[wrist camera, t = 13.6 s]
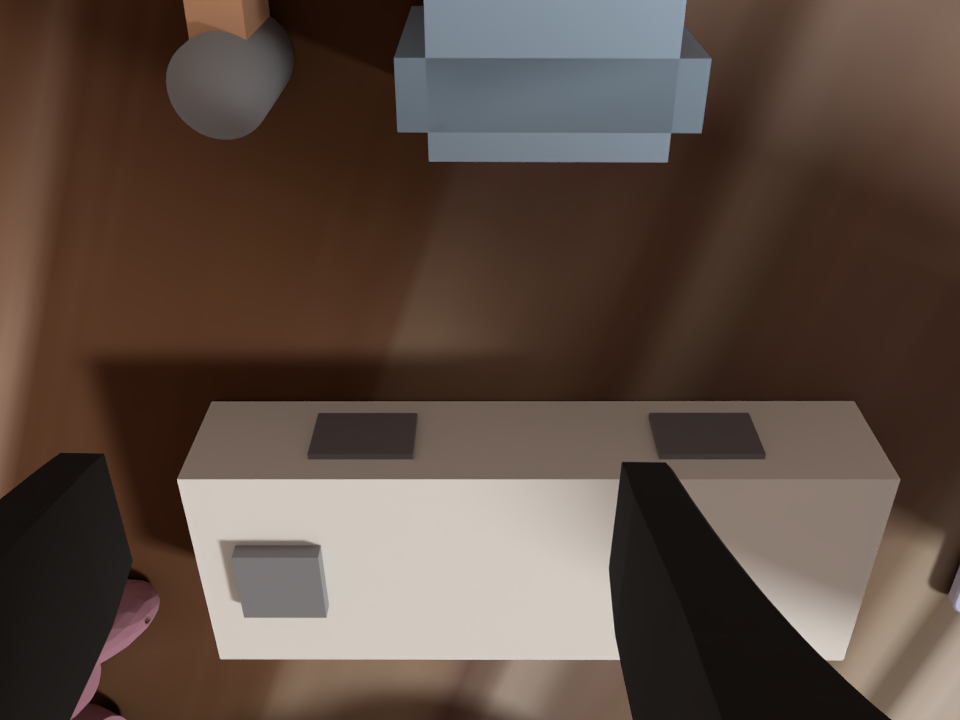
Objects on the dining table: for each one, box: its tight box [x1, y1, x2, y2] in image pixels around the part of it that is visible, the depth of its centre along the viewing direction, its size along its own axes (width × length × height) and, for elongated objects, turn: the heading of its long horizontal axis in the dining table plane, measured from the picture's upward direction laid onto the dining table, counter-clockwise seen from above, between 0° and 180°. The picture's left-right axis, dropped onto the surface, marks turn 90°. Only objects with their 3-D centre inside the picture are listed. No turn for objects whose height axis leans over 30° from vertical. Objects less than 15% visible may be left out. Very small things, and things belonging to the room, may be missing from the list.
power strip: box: [177, 401, 900, 660], centre depth 23 cm, size 16×6×3 cm, turn 90°
